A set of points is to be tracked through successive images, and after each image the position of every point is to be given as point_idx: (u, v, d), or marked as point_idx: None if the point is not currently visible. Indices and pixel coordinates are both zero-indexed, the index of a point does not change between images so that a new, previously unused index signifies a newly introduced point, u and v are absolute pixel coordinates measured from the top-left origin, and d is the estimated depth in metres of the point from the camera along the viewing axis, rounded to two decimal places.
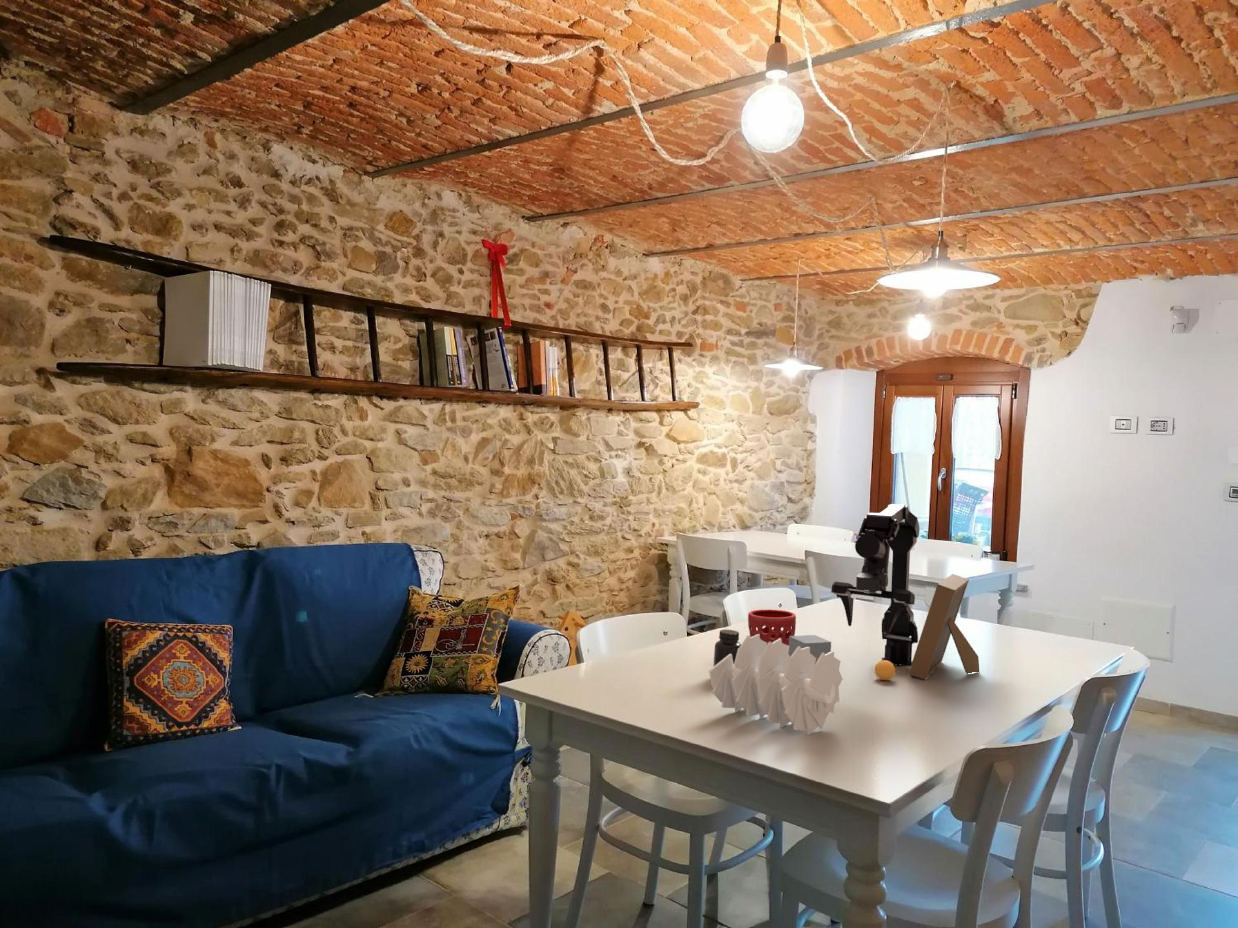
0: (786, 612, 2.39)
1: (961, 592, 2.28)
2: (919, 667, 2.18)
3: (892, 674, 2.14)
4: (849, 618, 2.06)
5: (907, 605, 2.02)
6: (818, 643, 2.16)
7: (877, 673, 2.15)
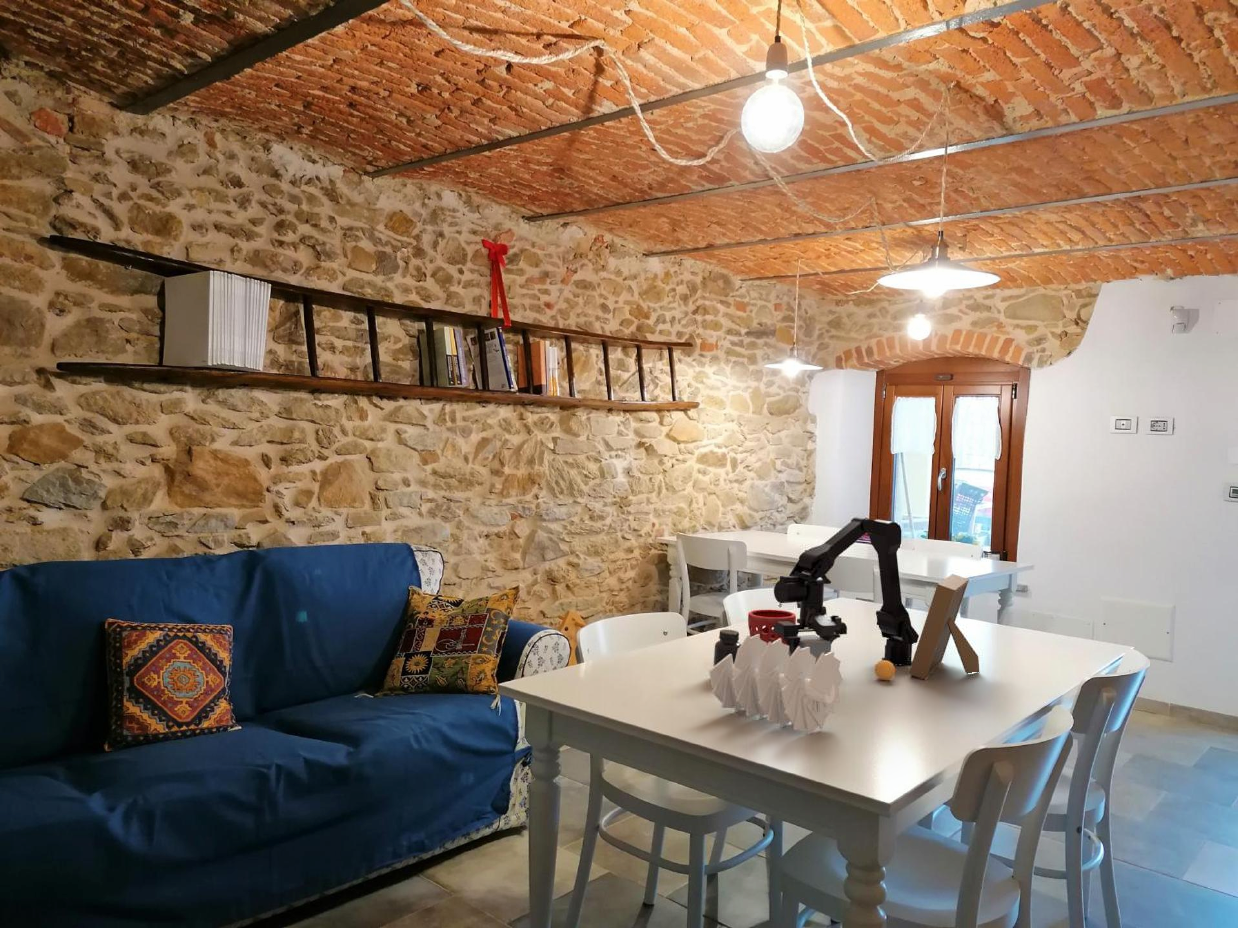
0: (786, 612, 2.39)
1: (961, 592, 2.28)
2: (919, 667, 2.18)
3: (892, 674, 2.14)
4: None
5: None
6: (818, 643, 2.16)
7: (877, 673, 2.15)
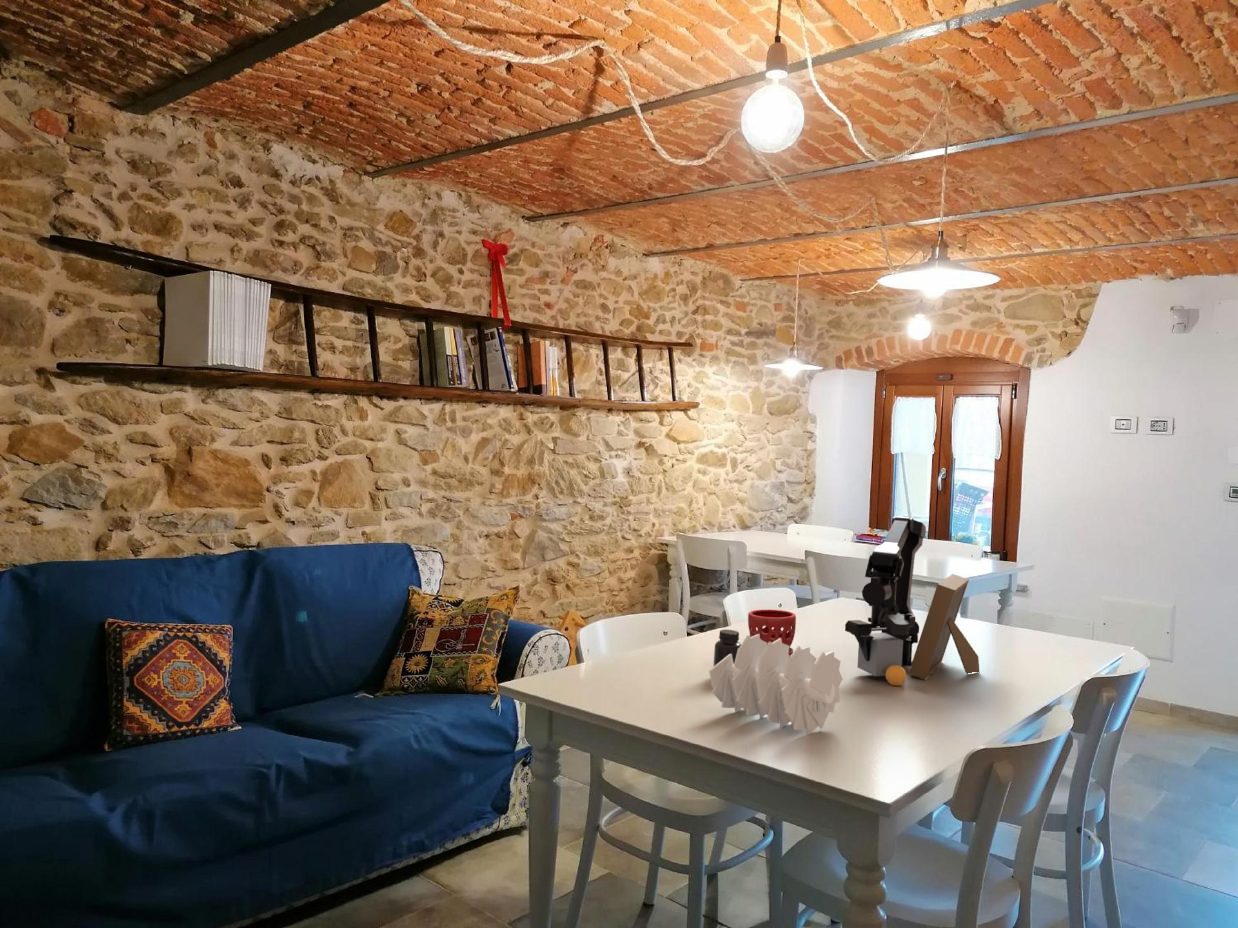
0: (786, 612, 2.39)
1: (961, 592, 2.28)
2: (919, 667, 2.18)
3: None
4: (869, 655, 2.15)
5: None
6: (890, 641, 2.14)
7: (886, 675, 2.11)
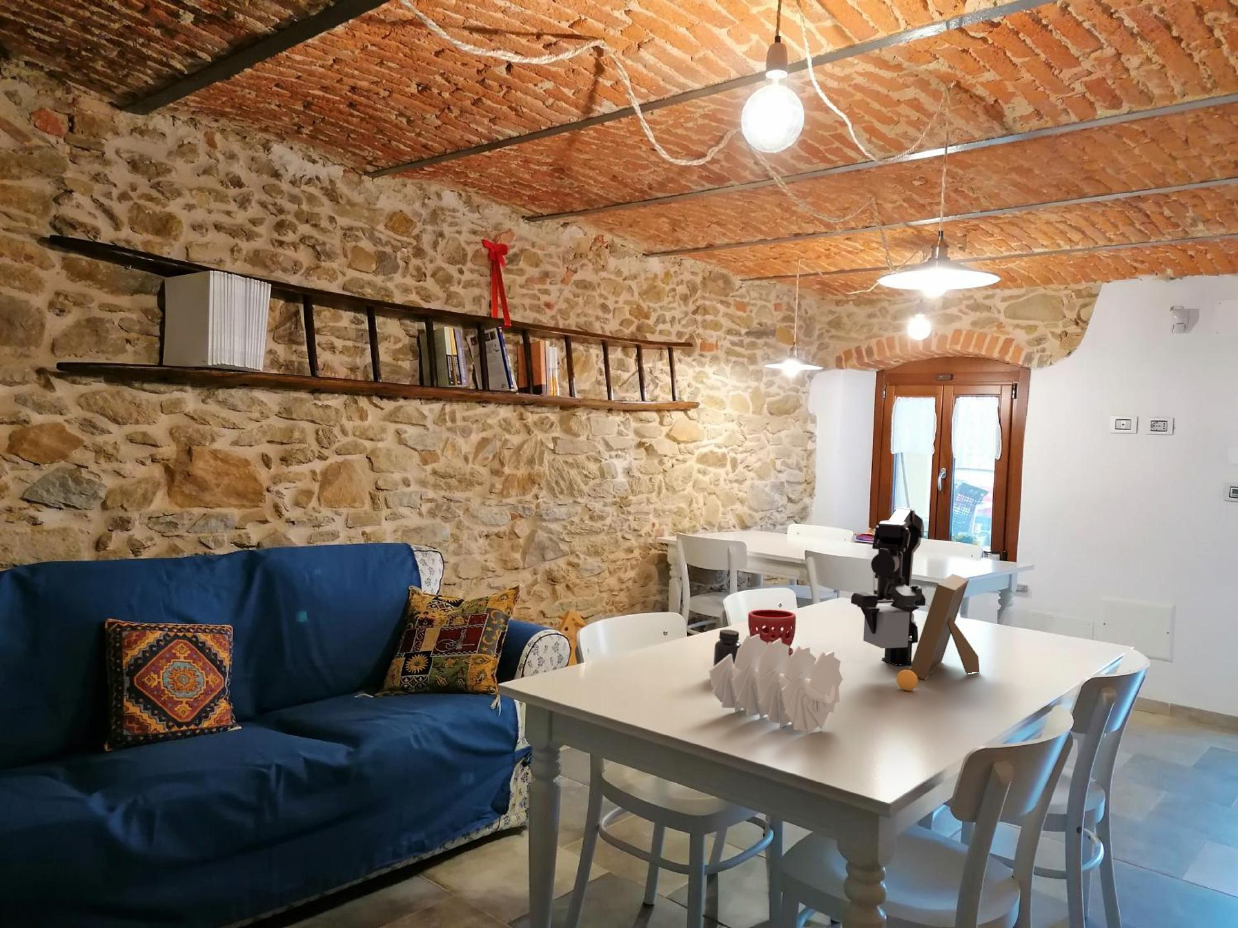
0: (786, 612, 2.39)
1: (961, 592, 2.28)
2: (919, 667, 2.18)
3: None
4: (875, 627, 2.13)
5: None
6: (897, 613, 2.12)
7: (899, 677, 2.07)
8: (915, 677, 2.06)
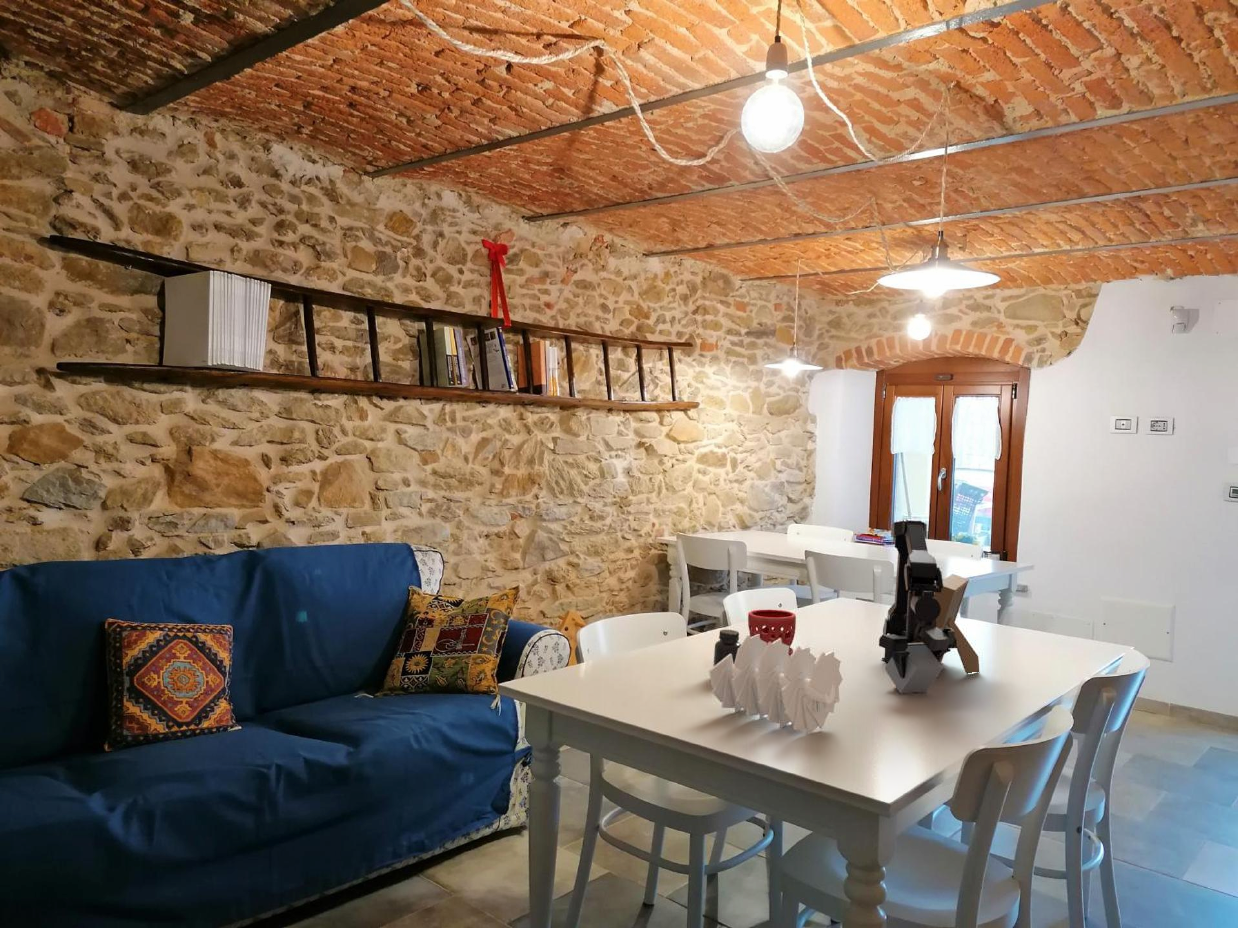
0: (786, 612, 2.39)
1: (961, 592, 2.28)
2: None
3: None
4: (904, 671, 2.02)
5: None
6: (929, 668, 2.01)
7: None
8: None
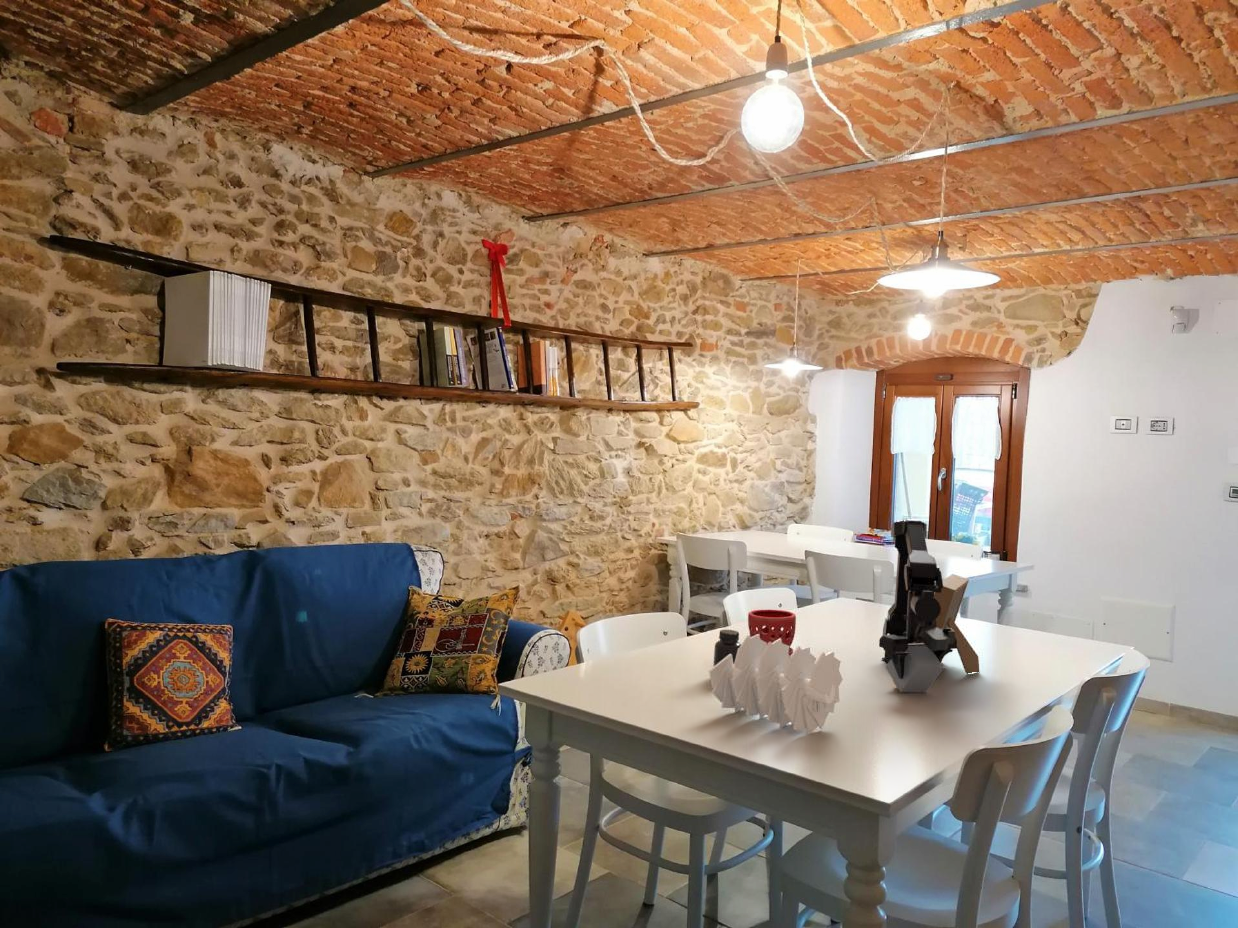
0: (786, 612, 2.39)
1: (961, 592, 2.28)
2: None
3: None
4: (903, 672, 2.02)
5: None
6: (930, 668, 2.01)
7: None
8: None
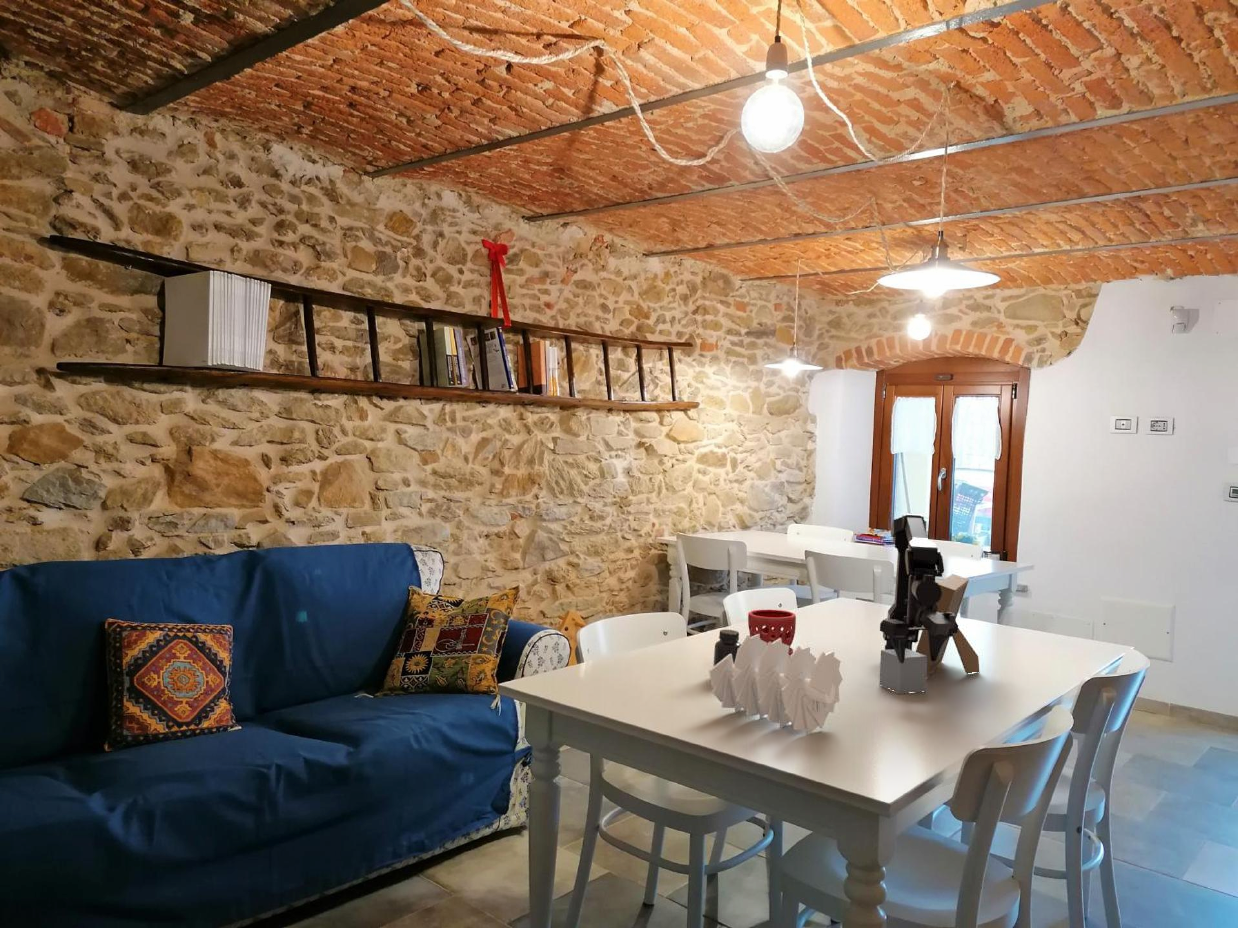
0: (786, 612, 2.39)
1: (961, 592, 2.28)
2: None
3: None
4: (903, 656, 2.02)
5: None
6: (914, 657, 2.05)
7: None
8: None
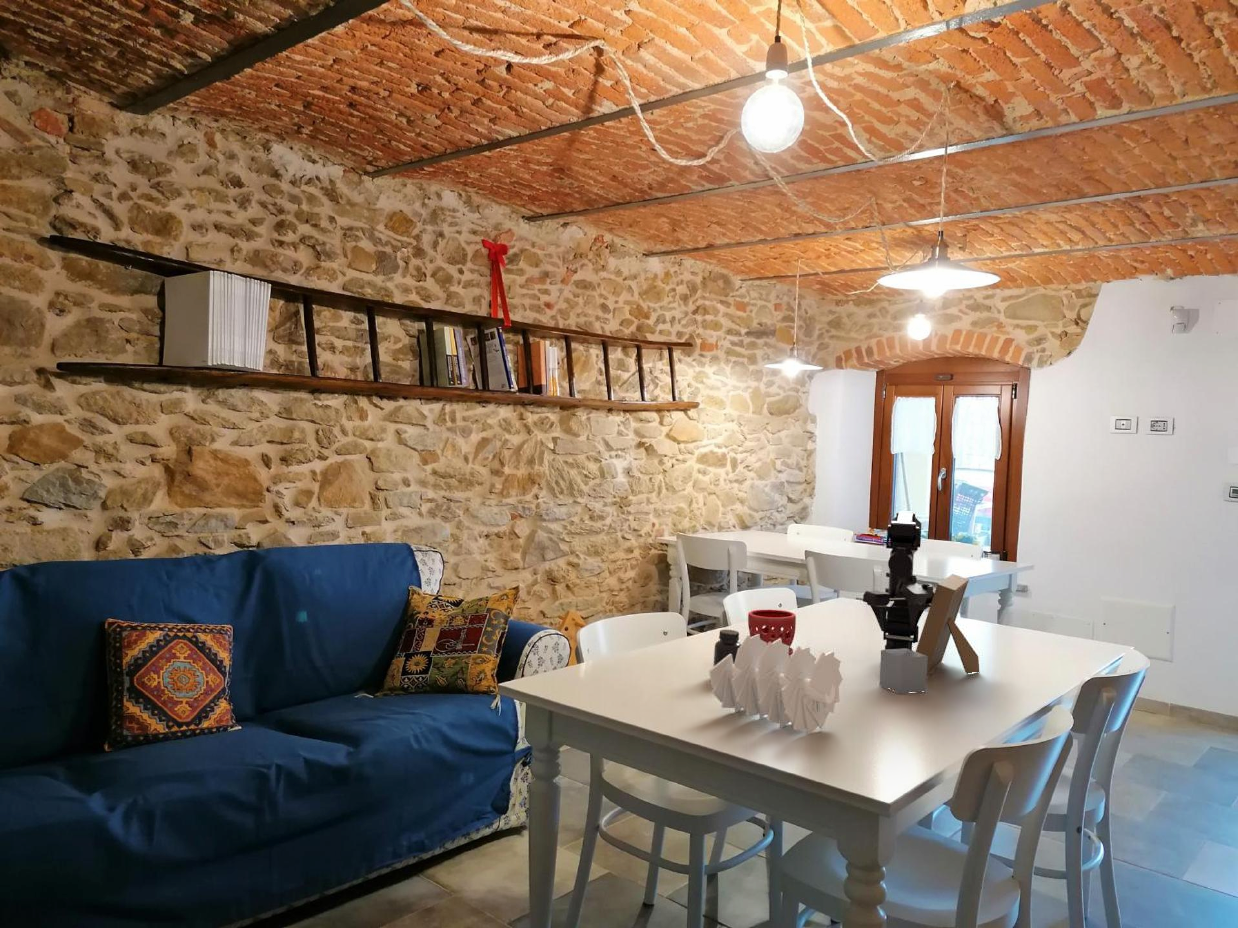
0: (786, 612, 2.39)
1: (961, 592, 2.28)
2: None
3: None
4: (885, 625, 2.17)
5: None
6: (914, 657, 2.05)
7: None
8: None
